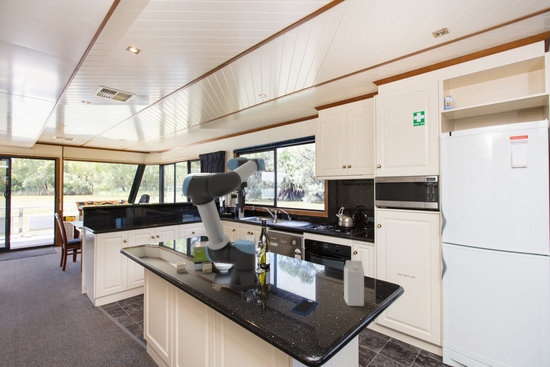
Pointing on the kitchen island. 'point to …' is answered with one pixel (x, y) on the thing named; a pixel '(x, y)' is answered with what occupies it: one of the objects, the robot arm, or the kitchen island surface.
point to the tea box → (200, 254)
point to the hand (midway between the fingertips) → (241, 217)
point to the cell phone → (304, 307)
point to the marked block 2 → (206, 267)
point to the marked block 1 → (181, 267)
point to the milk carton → (354, 283)
